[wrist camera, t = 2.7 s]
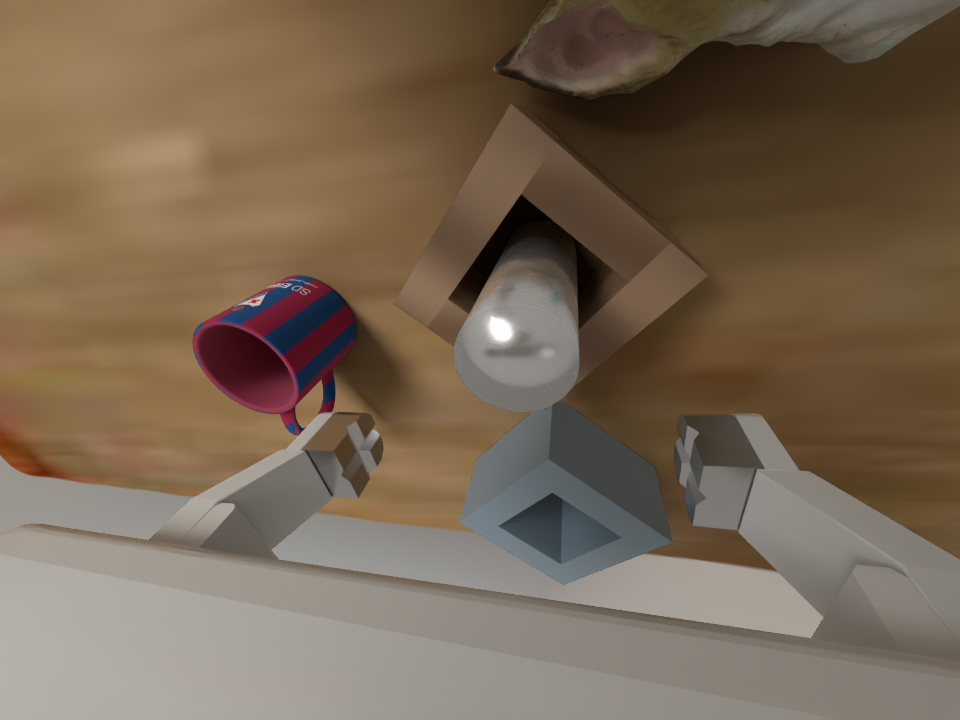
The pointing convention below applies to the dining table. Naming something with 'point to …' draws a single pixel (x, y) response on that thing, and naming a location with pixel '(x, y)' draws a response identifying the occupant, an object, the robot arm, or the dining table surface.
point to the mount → (573, 206)
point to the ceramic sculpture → (694, 36)
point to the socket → (565, 496)
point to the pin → (524, 324)
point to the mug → (277, 347)
